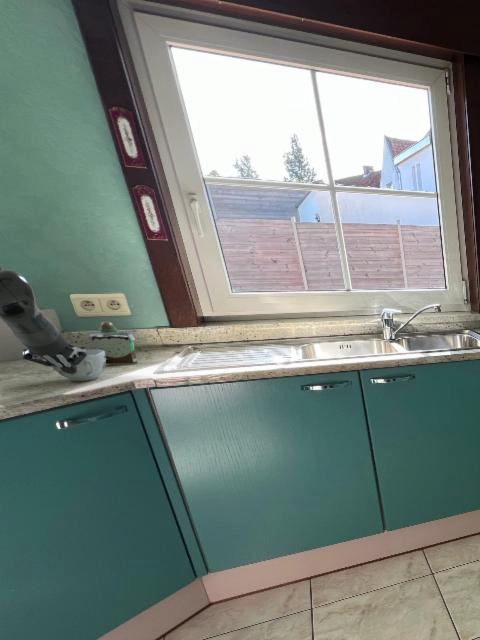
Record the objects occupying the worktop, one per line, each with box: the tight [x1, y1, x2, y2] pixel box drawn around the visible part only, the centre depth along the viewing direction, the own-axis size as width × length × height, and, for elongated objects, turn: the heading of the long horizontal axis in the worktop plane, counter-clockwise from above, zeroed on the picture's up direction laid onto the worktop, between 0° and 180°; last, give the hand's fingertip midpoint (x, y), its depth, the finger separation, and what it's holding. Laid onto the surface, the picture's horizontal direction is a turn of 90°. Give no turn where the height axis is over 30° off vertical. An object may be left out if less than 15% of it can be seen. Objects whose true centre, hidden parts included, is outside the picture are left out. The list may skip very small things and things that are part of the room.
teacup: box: [51, 349, 107, 382], centre depth 146 cm, size 15×12×8 cm
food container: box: [88, 331, 138, 365], centre depth 169 cm, size 12×6×10 cm, turn 100°
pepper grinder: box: [98, 320, 119, 333], centre depth 178 cm, size 5×5×12 cm
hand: (71, 370), depth 140 cm, fingers closed
